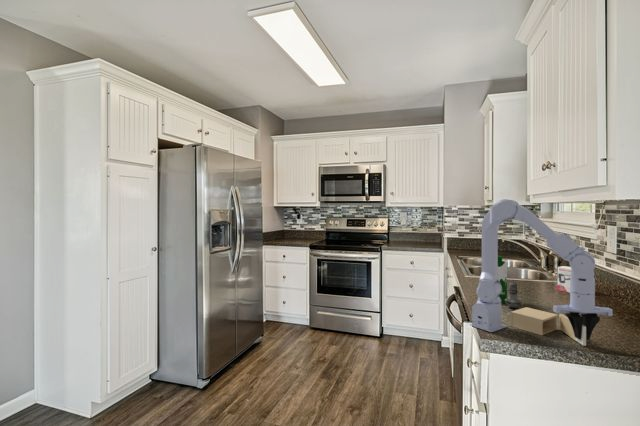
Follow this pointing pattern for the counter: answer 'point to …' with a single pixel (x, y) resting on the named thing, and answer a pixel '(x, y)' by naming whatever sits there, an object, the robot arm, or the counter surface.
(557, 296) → the counter surface
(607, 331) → the counter surface
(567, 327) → the flap
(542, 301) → the counter surface
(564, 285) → the ink box
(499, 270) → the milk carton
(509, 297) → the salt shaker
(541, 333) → the carton
